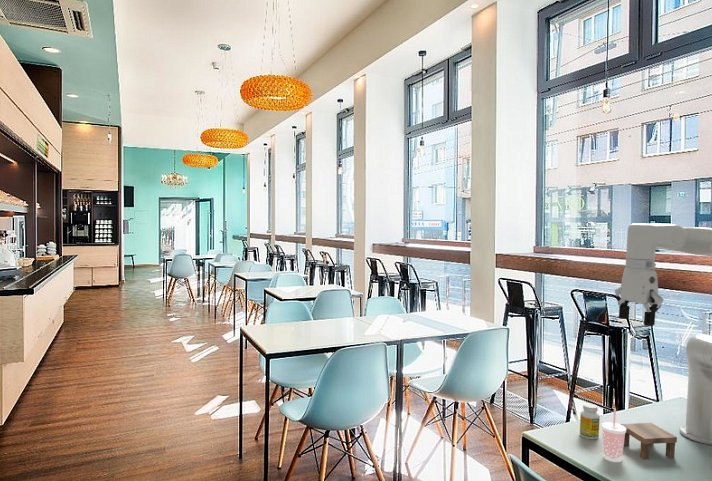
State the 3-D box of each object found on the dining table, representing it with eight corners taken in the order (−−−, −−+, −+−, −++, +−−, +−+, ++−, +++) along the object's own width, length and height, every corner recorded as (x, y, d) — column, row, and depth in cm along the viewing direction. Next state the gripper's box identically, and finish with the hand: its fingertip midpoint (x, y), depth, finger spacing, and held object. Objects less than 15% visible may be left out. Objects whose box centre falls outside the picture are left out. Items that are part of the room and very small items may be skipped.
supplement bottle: (586, 431, 160) (587, 401, 159) (602, 437, 155) (603, 406, 155) (575, 434, 157) (577, 404, 156) (592, 441, 152) (593, 410, 152)
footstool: (650, 442, 152) (651, 422, 152) (675, 458, 143) (676, 437, 142) (619, 443, 151) (620, 424, 151) (643, 459, 141) (644, 438, 141)
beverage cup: (605, 451, 146) (608, 403, 145) (628, 459, 141) (630, 409, 141) (596, 457, 142) (598, 408, 141) (619, 465, 137) (622, 414, 137)
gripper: (674, 268, 144) (670, 328, 145) (628, 262, 161) (624, 316, 161) (653, 267, 142) (649, 328, 143) (608, 262, 159) (604, 316, 160)
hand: (636, 321), depth 152 cm, fingers open, 9 cm apart
